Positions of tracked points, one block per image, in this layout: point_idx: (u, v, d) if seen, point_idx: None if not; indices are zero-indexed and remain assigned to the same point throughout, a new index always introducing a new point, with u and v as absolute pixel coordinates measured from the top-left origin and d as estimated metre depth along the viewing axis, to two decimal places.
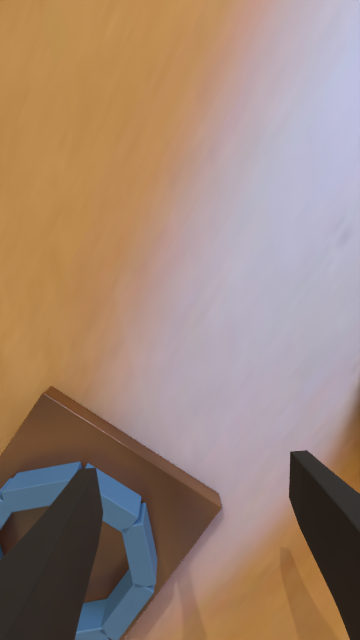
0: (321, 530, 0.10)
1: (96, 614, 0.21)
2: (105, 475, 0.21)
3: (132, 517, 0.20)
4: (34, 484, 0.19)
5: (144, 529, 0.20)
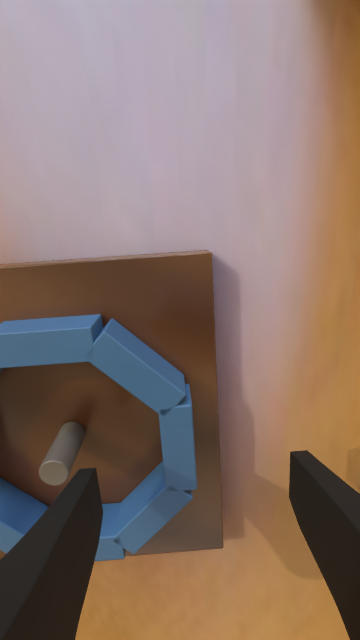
0: (321, 530, 0.10)
1: (158, 478, 0.15)
2: (34, 319, 0.14)
3: (83, 332, 0.12)
4: None
5: (113, 337, 0.13)
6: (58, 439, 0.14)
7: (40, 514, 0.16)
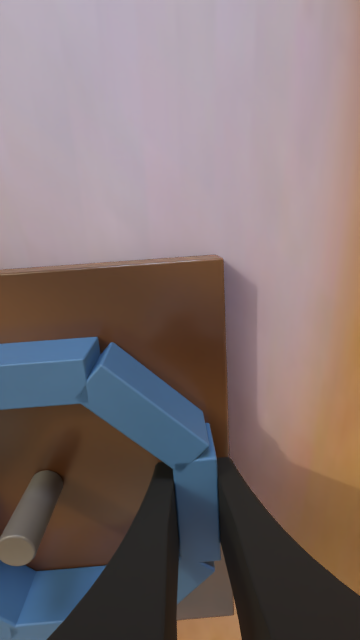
0: (227, 538, 0.10)
1: None
2: (12, 343, 0.11)
3: (73, 366, 0.09)
4: None
5: (114, 372, 0.09)
6: (25, 499, 0.11)
7: (22, 582, 0.13)
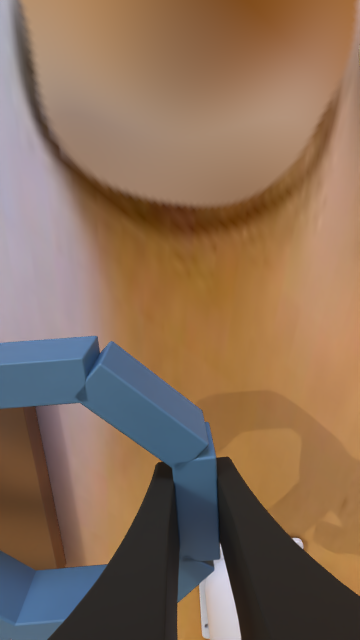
0: (226, 538, 0.10)
1: None
2: (11, 343, 0.11)
3: (72, 365, 0.09)
4: None
5: (113, 371, 0.09)
6: None
7: (22, 581, 0.13)
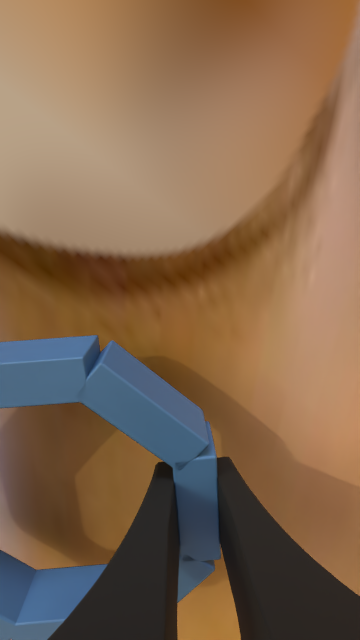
0: (226, 538, 0.10)
1: None
2: (11, 342, 0.11)
3: (73, 364, 0.09)
4: None
5: (113, 370, 0.09)
6: None
7: (22, 581, 0.13)
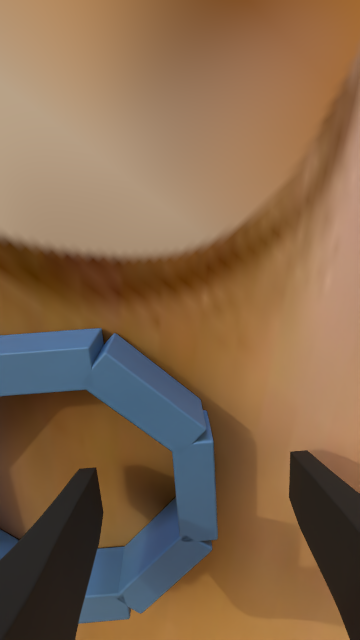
0: (321, 530, 0.10)
1: (170, 522, 0.13)
2: (20, 334, 0.11)
3: (79, 354, 0.10)
4: None
5: (117, 360, 0.10)
6: None
7: None
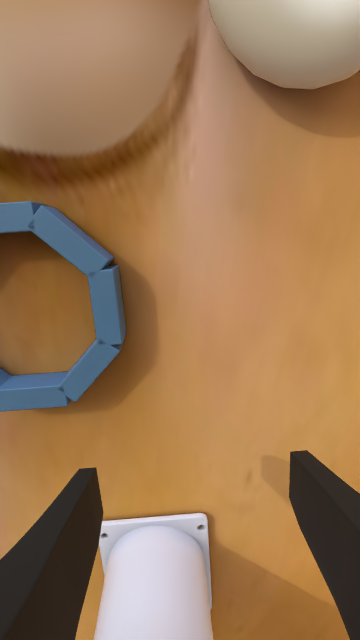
0: (321, 530, 0.10)
1: (94, 341, 0.19)
2: None
3: (25, 205, 0.16)
4: None
5: (49, 211, 0.16)
6: None
7: (2, 376, 0.20)
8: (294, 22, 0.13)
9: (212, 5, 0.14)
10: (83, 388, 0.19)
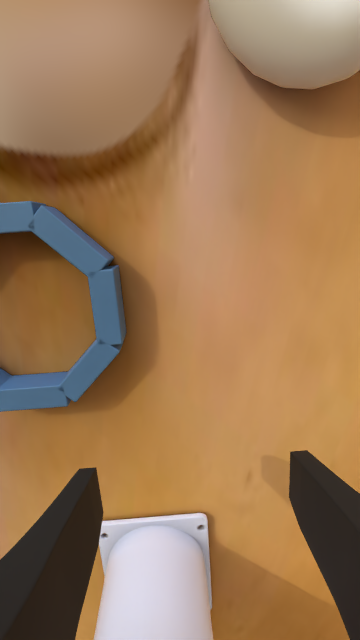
0: (321, 530, 0.10)
1: (94, 341, 0.19)
2: None
3: (25, 205, 0.16)
4: None
5: (49, 211, 0.16)
6: None
7: (2, 376, 0.20)
8: (294, 22, 0.13)
9: (212, 5, 0.14)
10: (83, 388, 0.19)
